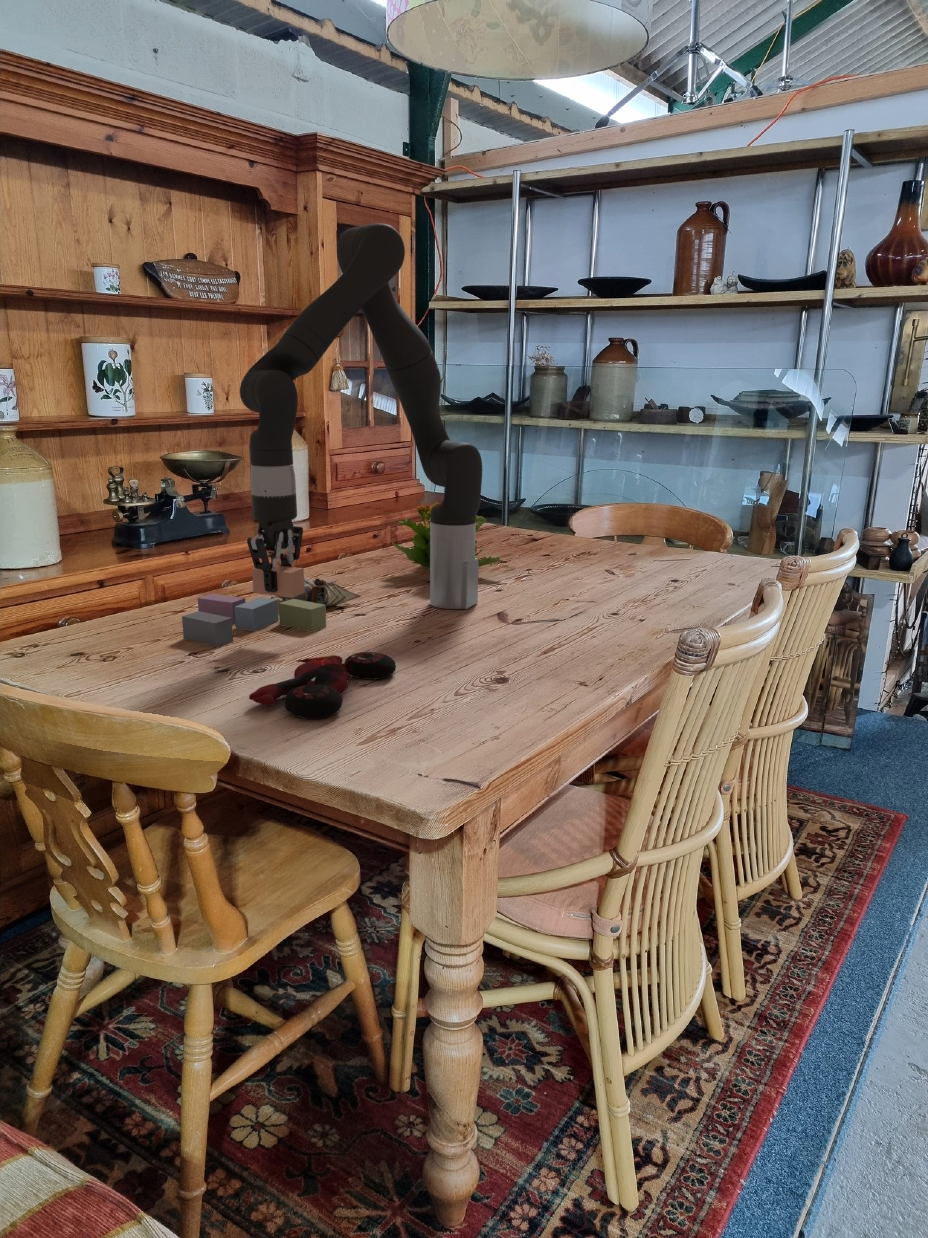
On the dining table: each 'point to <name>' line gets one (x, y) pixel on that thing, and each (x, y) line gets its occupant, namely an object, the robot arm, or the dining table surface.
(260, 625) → the slate blue brick
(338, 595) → the figurine
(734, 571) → the dining table surface
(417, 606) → the dining table surface
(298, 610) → the olive brick
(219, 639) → the charcoal brick
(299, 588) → the terracotta brick
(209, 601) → the plum brick
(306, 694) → the toy motorcycle
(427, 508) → the potted flower
